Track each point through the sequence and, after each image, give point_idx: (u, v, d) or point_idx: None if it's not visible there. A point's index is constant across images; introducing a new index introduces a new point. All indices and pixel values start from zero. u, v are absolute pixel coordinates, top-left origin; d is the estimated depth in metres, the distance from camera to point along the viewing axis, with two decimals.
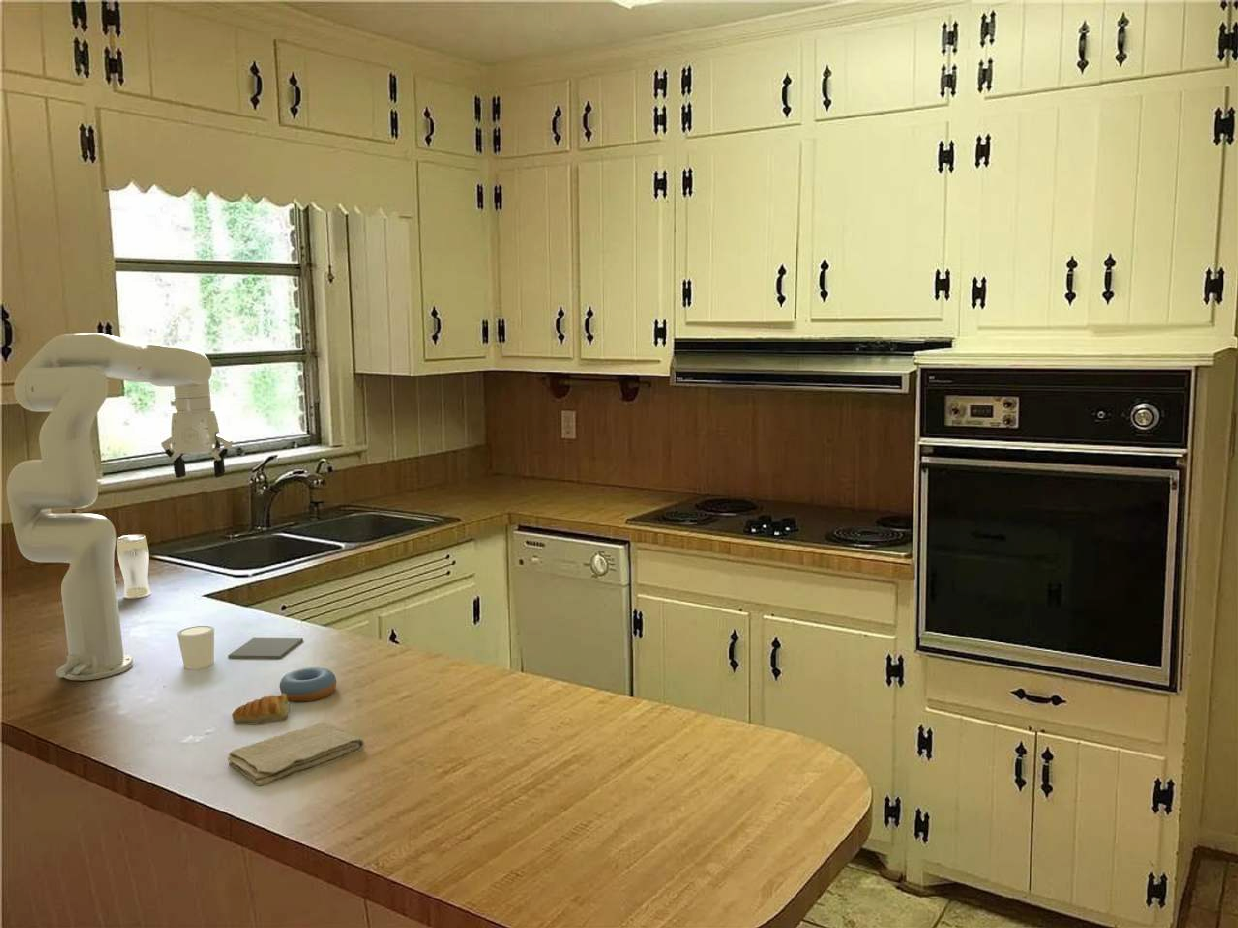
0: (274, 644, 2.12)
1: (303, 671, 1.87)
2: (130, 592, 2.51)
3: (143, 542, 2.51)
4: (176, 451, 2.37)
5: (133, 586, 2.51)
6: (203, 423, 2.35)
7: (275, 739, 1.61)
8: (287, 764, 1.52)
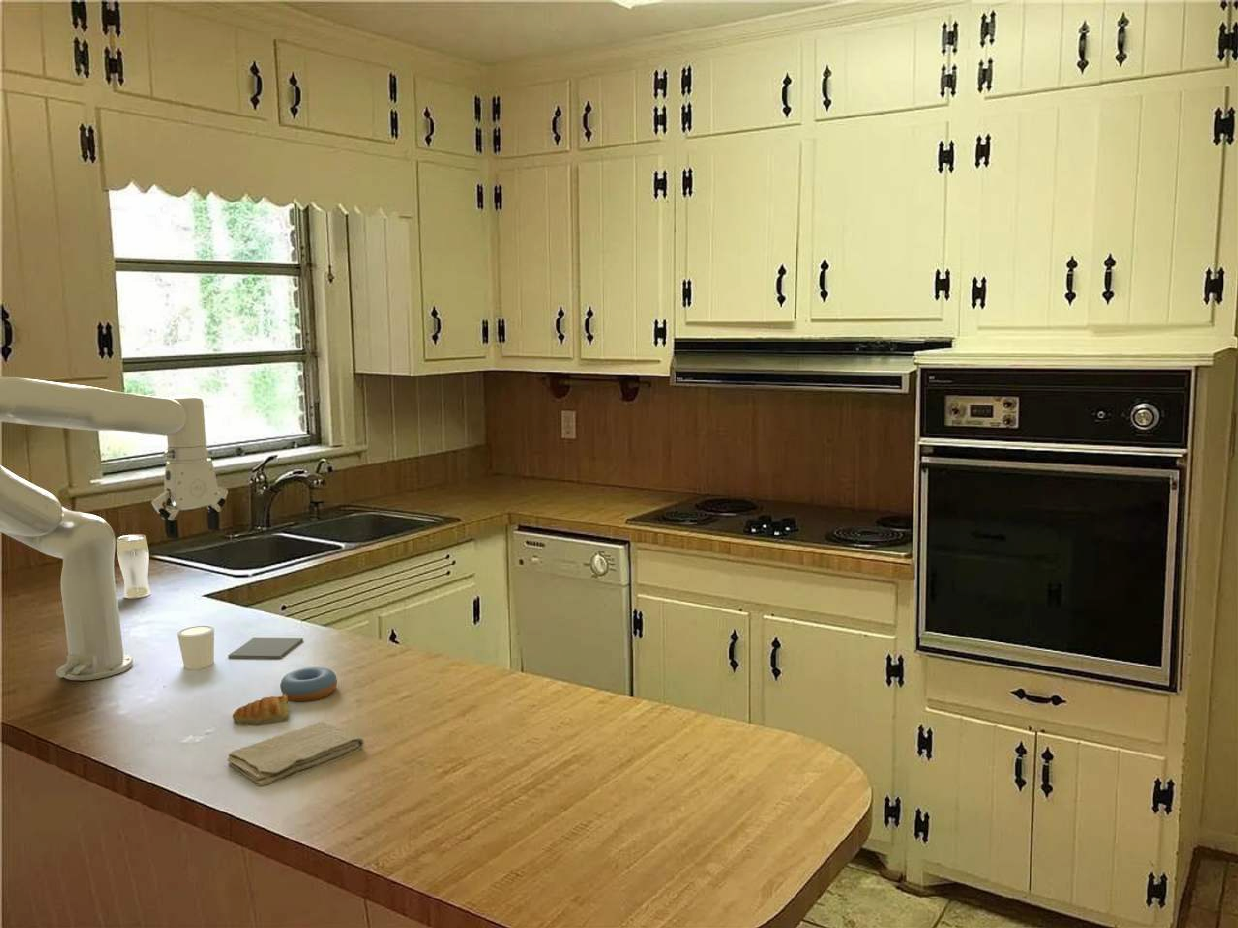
0: (274, 644, 2.12)
1: (304, 671, 1.87)
2: (130, 592, 2.51)
3: (143, 542, 2.51)
4: (182, 507, 2.11)
5: (133, 586, 2.51)
6: (211, 472, 2.16)
7: (274, 739, 1.61)
8: (289, 764, 1.52)
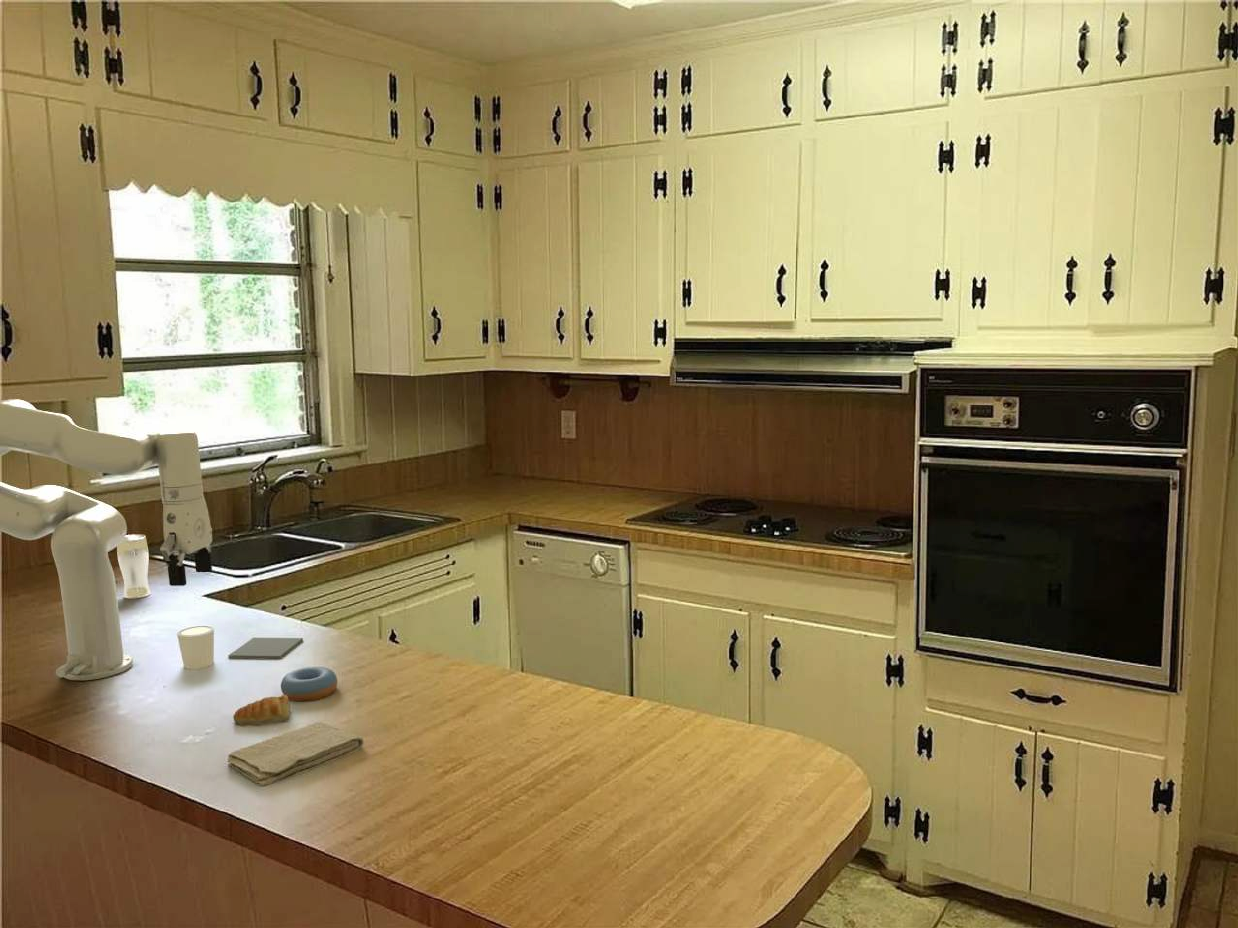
0: (274, 644, 2.12)
1: (304, 671, 1.88)
2: (130, 592, 2.51)
3: (143, 542, 2.51)
4: (191, 551, 1.95)
5: (133, 586, 2.51)
6: (206, 510, 2.01)
7: (273, 740, 1.61)
8: (290, 764, 1.52)
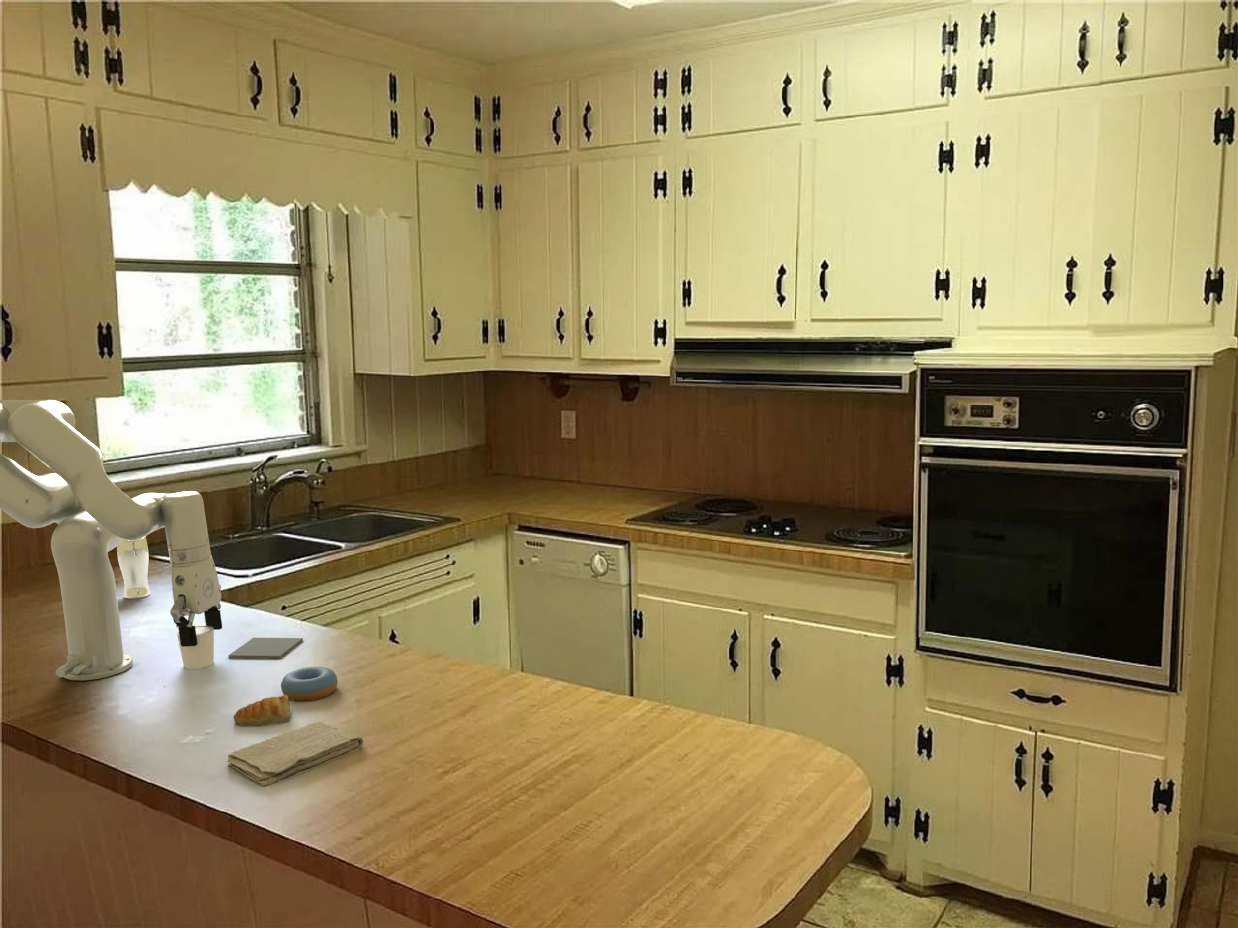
0: (274, 644, 2.12)
1: (304, 670, 1.88)
2: (130, 592, 2.51)
3: (143, 542, 2.51)
4: (200, 611, 1.97)
5: (133, 586, 2.51)
6: (214, 569, 2.03)
7: (273, 740, 1.61)
8: (291, 764, 1.52)
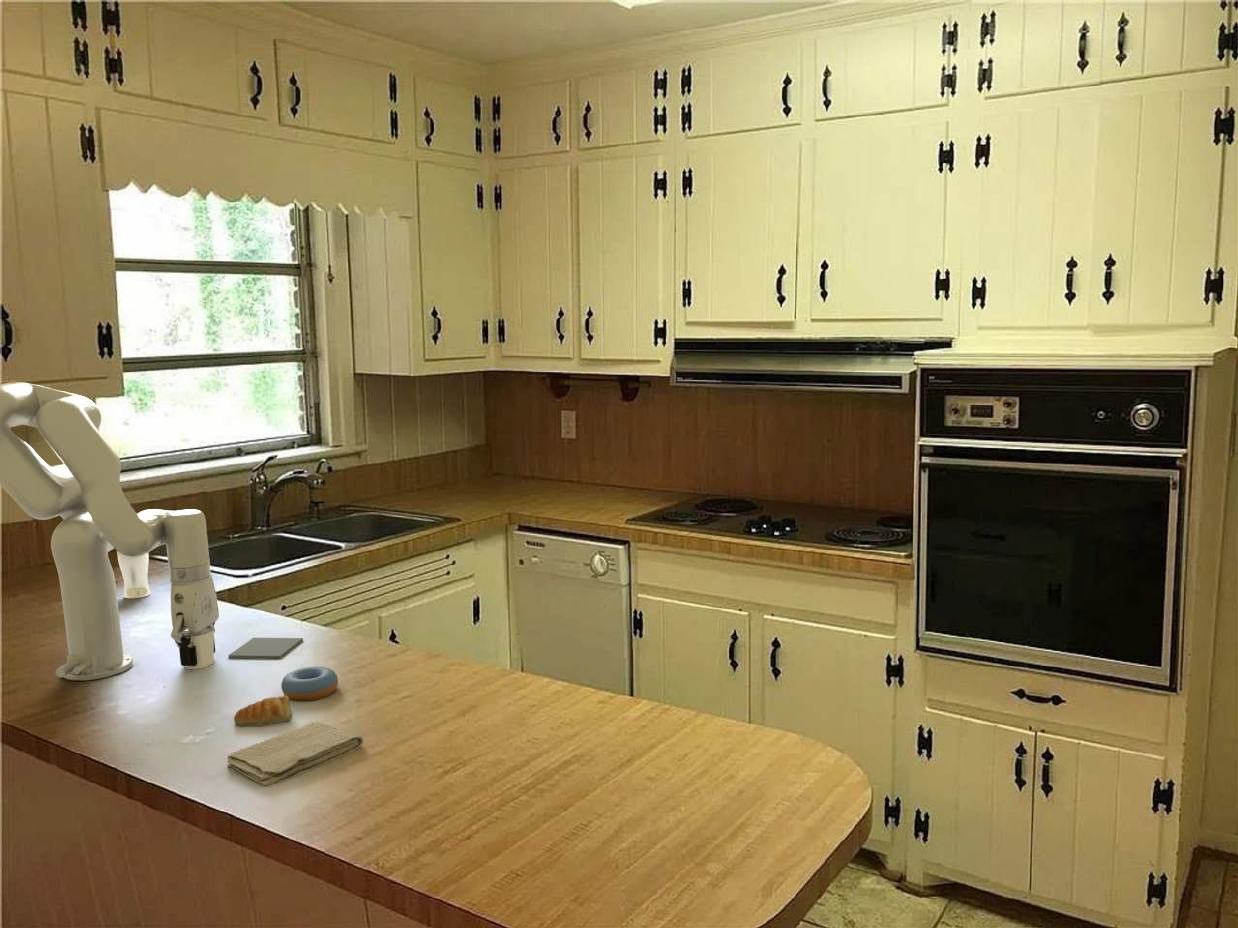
0: (274, 644, 2.12)
1: (305, 670, 1.88)
2: (130, 592, 2.51)
3: None
4: (198, 630, 1.97)
5: (133, 586, 2.51)
6: (213, 587, 2.04)
7: (272, 740, 1.61)
8: (292, 764, 1.52)
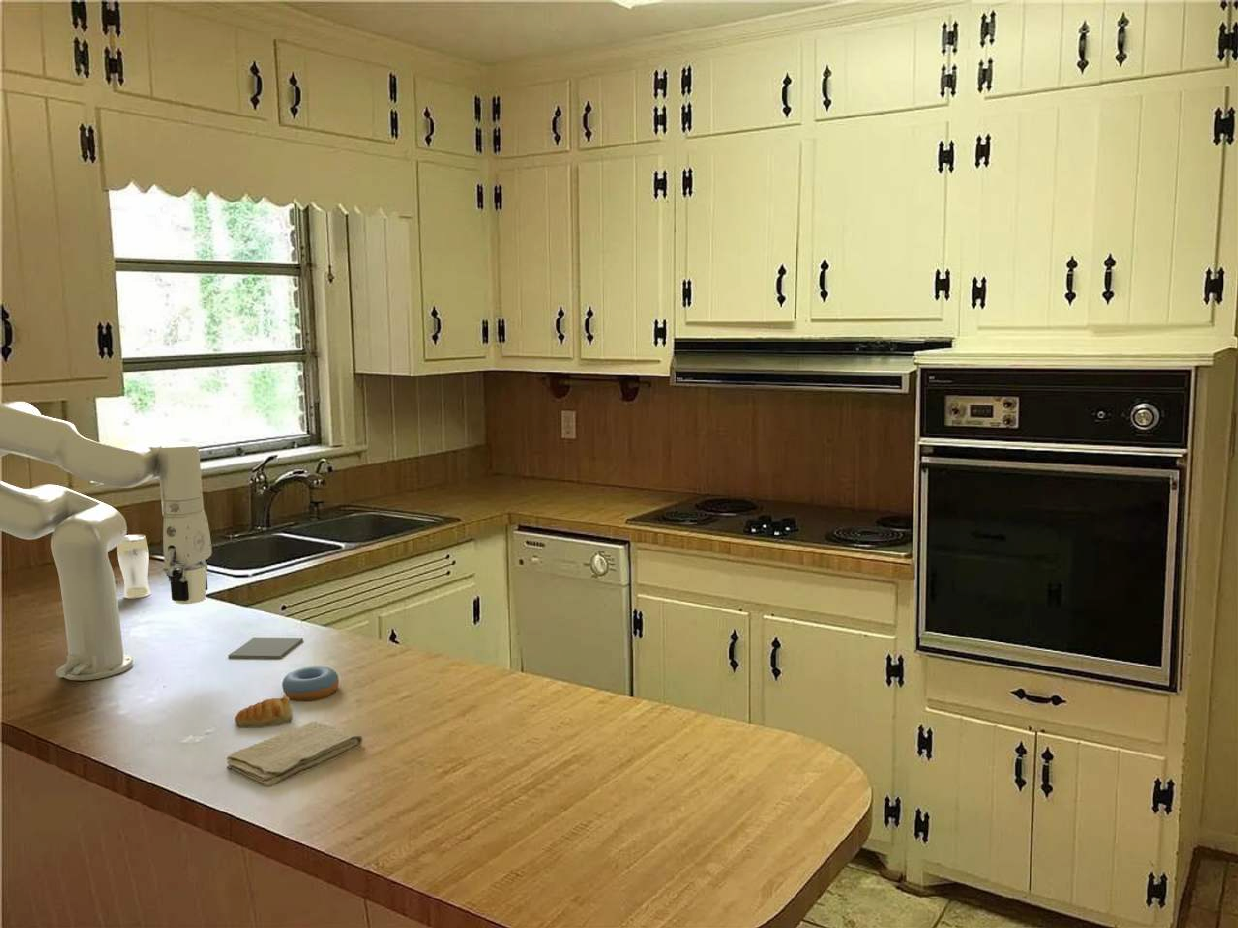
0: (274, 644, 2.12)
1: (306, 670, 1.88)
2: (130, 592, 2.51)
3: (143, 542, 2.51)
4: (190, 564, 1.95)
5: (133, 586, 2.51)
6: (206, 523, 2.01)
7: (271, 740, 1.60)
8: (294, 763, 1.52)
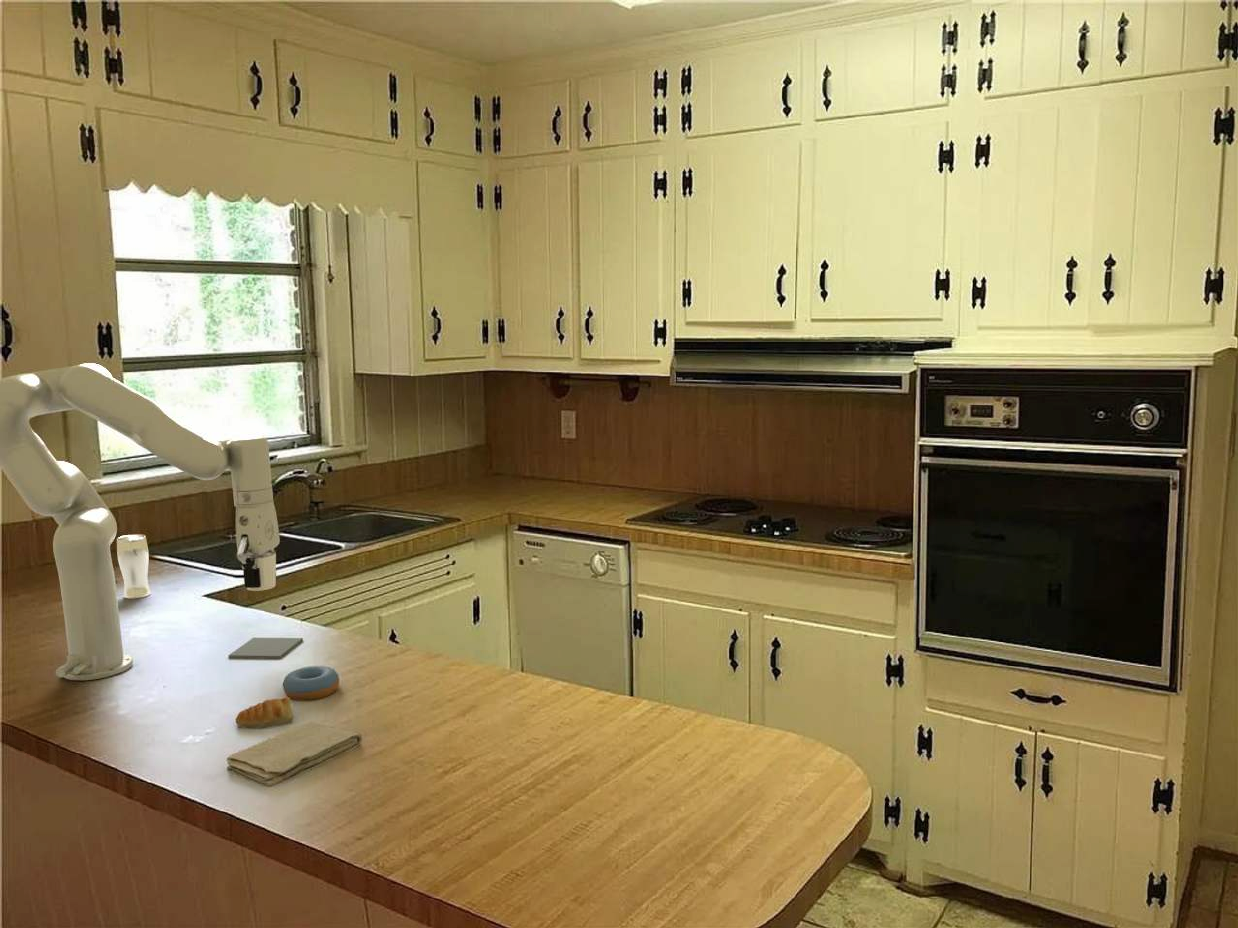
0: (274, 644, 2.12)
1: (306, 670, 1.88)
2: (130, 592, 2.51)
3: (143, 542, 2.51)
4: (262, 552, 2.03)
5: (133, 586, 2.51)
6: (274, 513, 2.09)
7: (270, 741, 1.60)
8: (295, 763, 1.52)
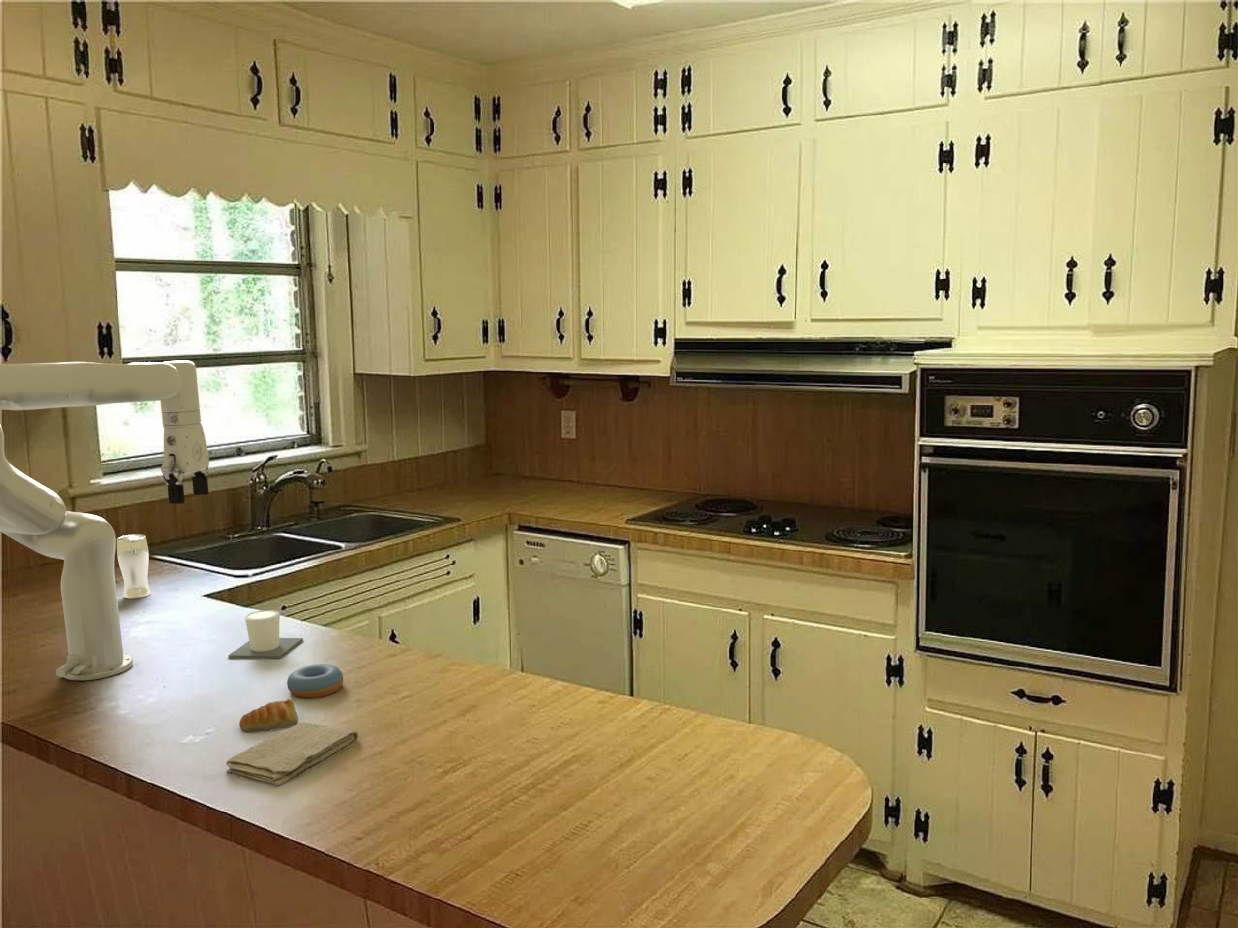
0: None
1: (310, 668, 1.89)
2: (130, 592, 2.51)
3: (143, 542, 2.51)
4: (189, 471, 2.12)
5: (133, 586, 2.51)
6: (203, 436, 2.18)
7: (267, 742, 1.60)
8: (301, 762, 1.53)
